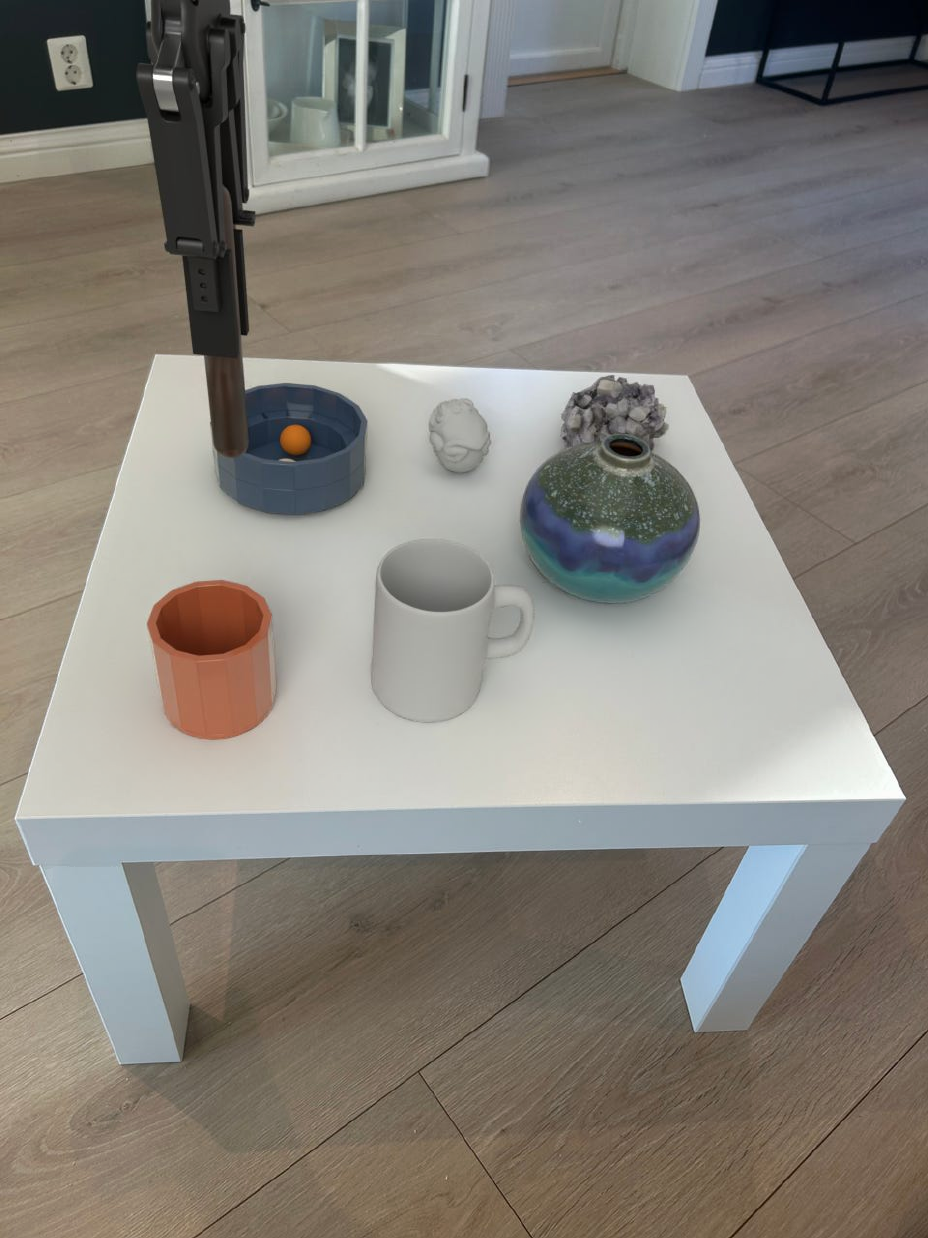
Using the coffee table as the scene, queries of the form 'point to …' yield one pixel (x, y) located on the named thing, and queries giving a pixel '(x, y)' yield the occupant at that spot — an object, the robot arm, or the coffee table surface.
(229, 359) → the stick
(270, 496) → the bowl
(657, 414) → the mineral specimen
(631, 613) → the coffee table surface
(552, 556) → the vase
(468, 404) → the frog figurine
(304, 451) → the ball
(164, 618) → the holder
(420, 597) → the mug
